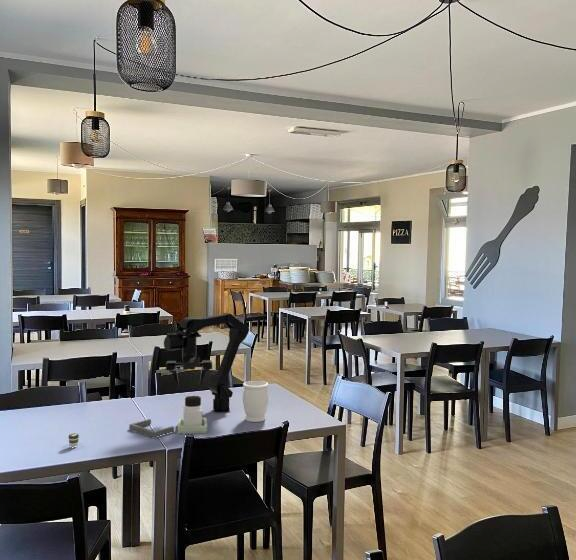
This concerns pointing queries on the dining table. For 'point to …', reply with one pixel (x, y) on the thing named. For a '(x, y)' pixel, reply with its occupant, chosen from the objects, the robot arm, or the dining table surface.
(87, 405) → the dining table surface
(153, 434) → the holder
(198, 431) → the tray
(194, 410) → the medicine bottle
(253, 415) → the jar
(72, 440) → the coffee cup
